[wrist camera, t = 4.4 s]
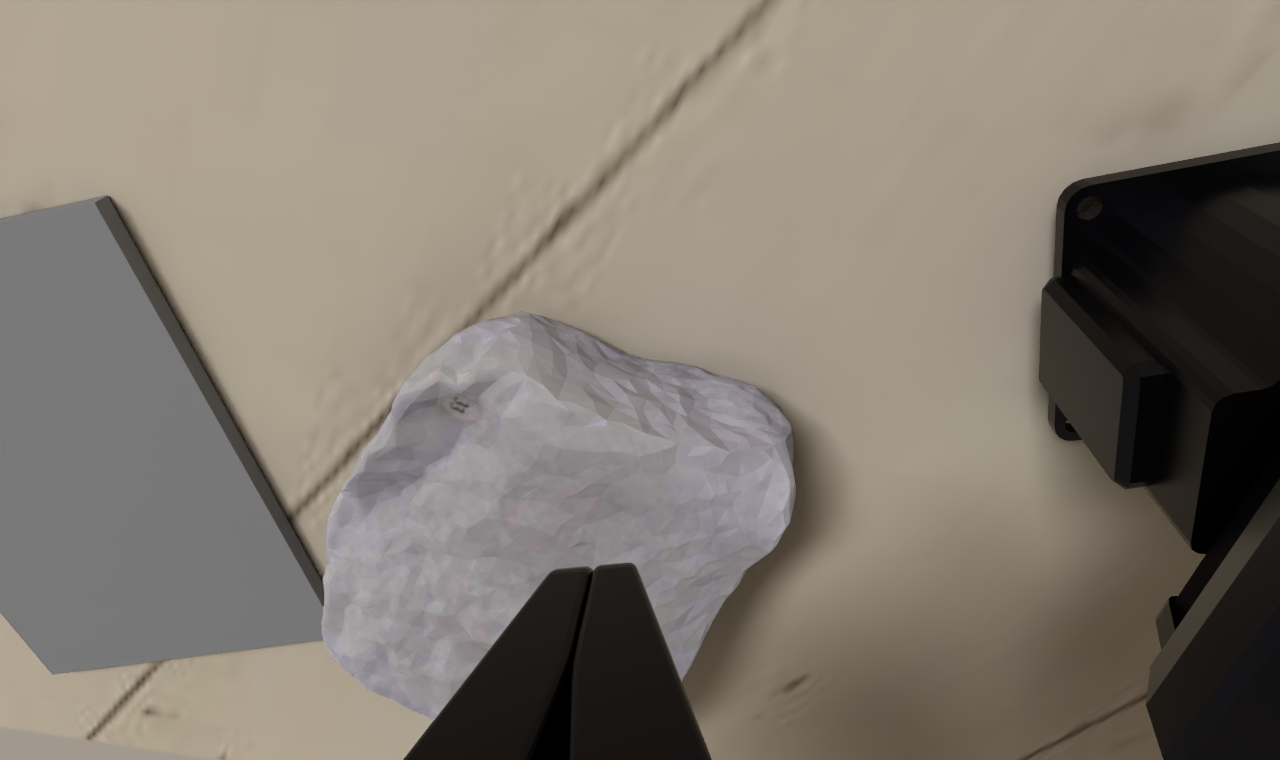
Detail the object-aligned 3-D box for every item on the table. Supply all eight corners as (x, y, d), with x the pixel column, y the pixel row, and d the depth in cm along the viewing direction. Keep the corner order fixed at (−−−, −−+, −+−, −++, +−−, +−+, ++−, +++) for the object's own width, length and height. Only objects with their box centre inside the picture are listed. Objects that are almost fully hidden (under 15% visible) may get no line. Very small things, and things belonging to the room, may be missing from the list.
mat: (107, 195, 19) (94, 202, 18) (345, 625, 26) (340, 637, 25) (-258, 274, 20) (-277, 283, 20) (62, 662, 27) (52, 674, 27)
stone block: (358, 559, 26) (643, 694, 26) (269, 669, 22) (608, 830, 22) (466, 227, 21) (824, 398, 21) (375, 287, 17) (825, 501, 17)
